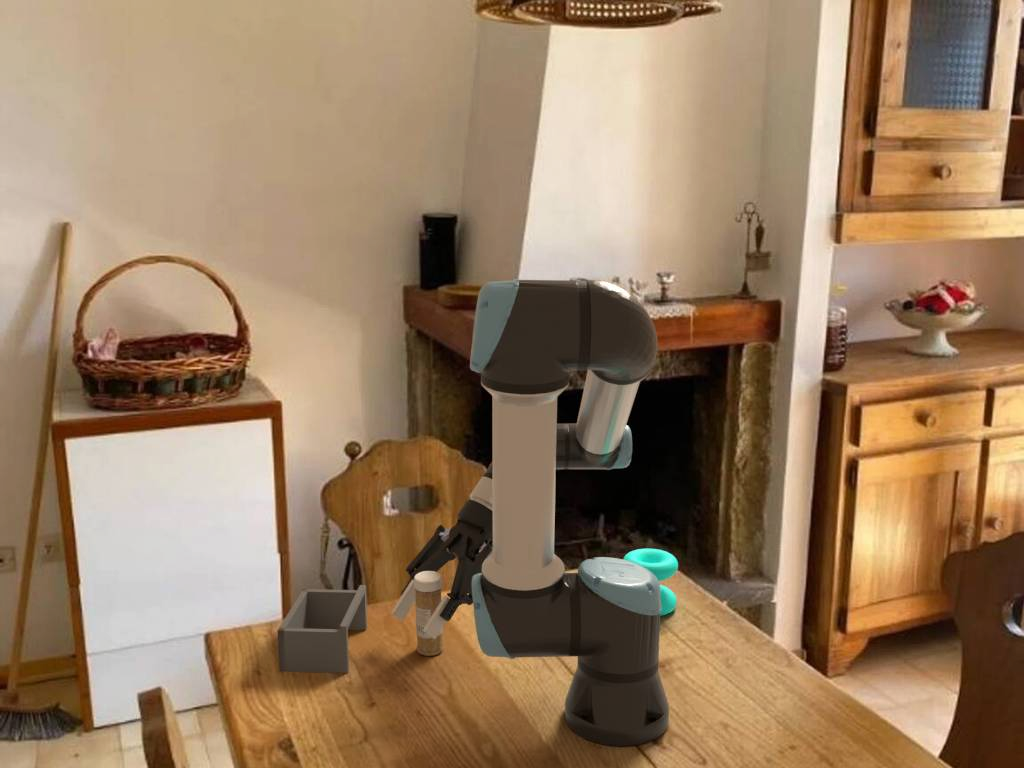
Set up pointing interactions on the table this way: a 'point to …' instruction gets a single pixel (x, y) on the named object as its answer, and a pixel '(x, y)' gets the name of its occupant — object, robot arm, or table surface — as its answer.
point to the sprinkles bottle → (427, 610)
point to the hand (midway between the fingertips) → (412, 625)
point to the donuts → (658, 572)
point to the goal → (321, 630)
